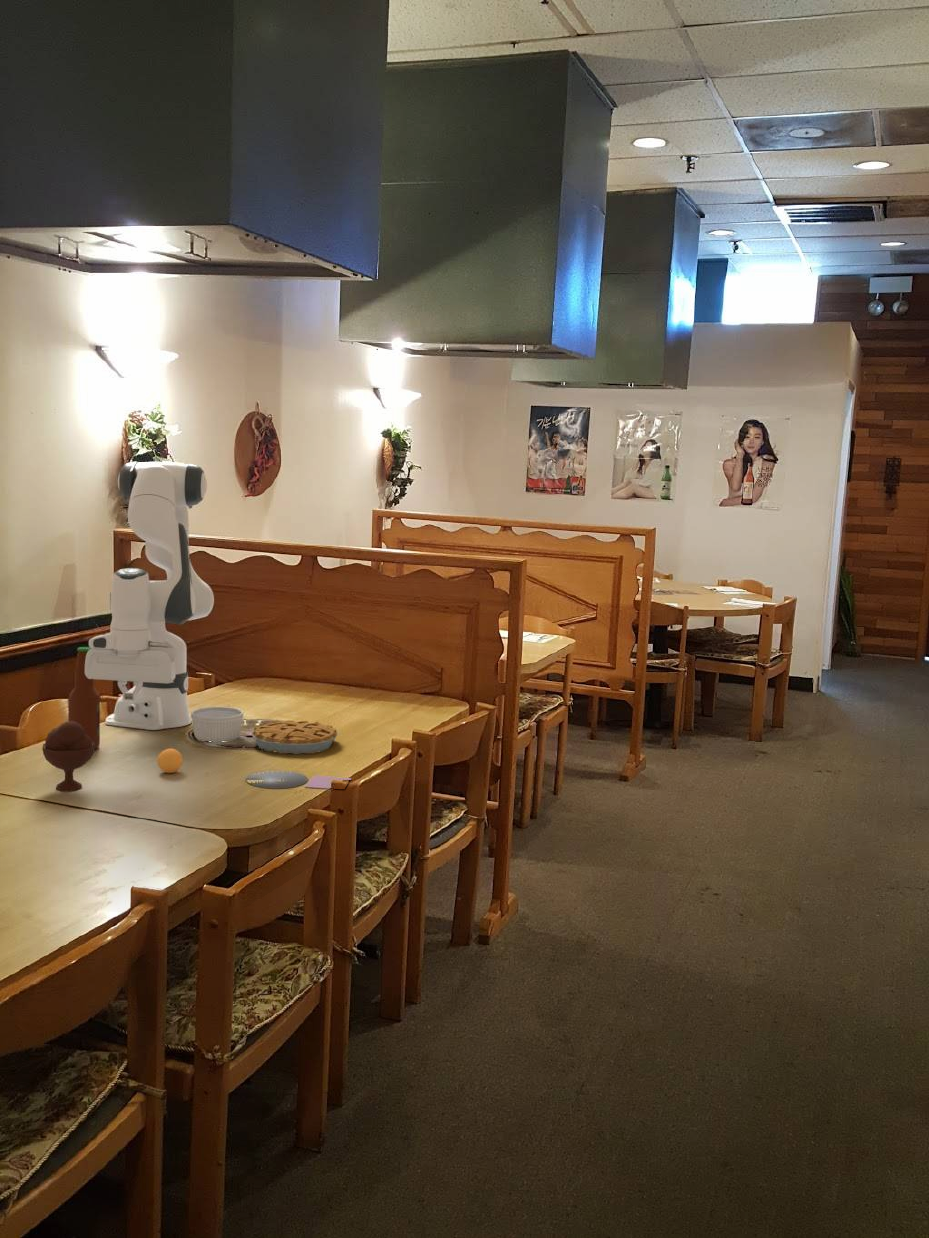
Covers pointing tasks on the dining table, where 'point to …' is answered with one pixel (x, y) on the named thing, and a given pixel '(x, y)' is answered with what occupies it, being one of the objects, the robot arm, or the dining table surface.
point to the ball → (170, 760)
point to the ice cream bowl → (68, 752)
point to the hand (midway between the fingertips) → (130, 699)
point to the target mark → (289, 779)
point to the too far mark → (322, 782)
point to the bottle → (85, 701)
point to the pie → (294, 736)
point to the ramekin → (217, 723)
